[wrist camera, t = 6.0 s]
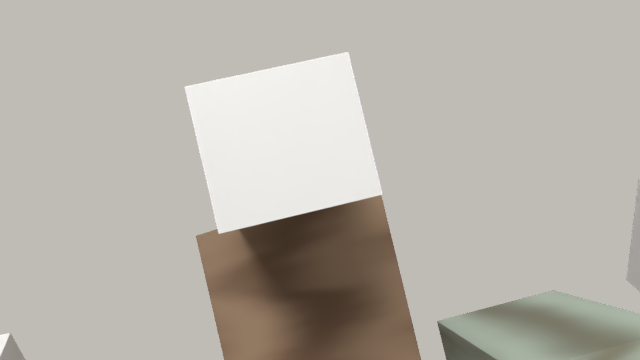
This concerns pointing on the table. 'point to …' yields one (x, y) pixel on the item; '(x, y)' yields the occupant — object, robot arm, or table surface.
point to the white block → (283, 141)
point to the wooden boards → (376, 300)
